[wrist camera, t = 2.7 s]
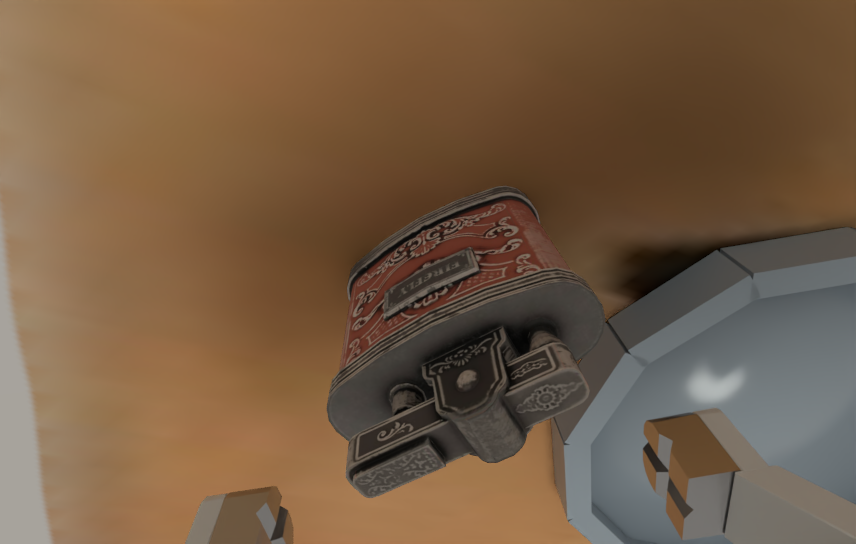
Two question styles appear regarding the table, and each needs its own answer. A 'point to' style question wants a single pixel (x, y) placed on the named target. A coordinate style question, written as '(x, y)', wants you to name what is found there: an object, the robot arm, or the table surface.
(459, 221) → the lighter
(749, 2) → the table surface
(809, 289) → the dish
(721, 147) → the table surface
